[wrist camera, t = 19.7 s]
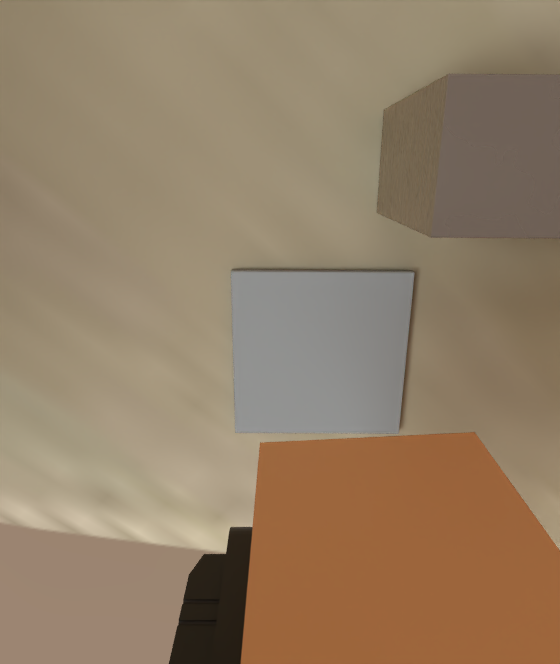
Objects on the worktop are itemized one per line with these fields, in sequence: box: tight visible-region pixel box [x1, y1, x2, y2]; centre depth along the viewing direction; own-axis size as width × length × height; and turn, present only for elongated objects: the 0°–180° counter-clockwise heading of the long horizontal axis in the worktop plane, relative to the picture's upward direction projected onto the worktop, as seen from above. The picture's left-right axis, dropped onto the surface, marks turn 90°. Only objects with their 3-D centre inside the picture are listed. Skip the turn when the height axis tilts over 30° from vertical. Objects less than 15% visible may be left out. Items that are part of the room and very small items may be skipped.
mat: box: [231, 270, 414, 434], centre depth 22 cm, size 8×8×1 cm
